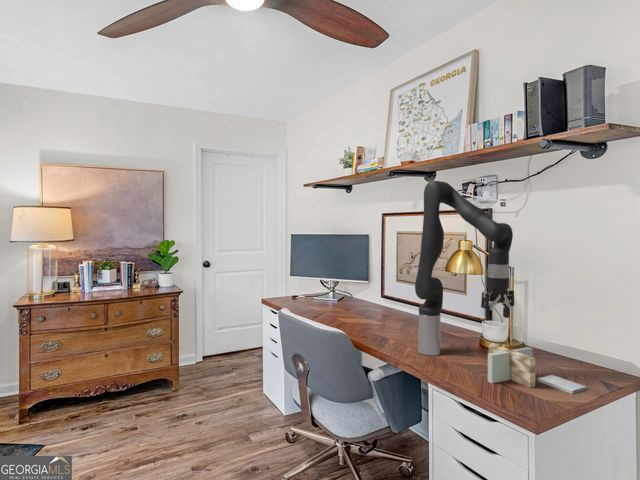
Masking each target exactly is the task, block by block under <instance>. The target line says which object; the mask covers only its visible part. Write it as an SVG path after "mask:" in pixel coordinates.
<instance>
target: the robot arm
mask: <svg viewBox="0 0 640 480" xmlns="http://www.w3.org/2000/svg"><path fill="white" fill-rule="evenodd" d="M441 204H445V205H446V206H449V207H450V208H453V210H455V211H456V212H457V213H458V215H459V216H460V217H461V219H463V221H465V222H466V223H468V224H469V225H471V227H474V228H475V229H476V230H478V231H479V233H480V234H481V235H483V237H484V238H485V239H487V240H489V241H491V242H492V243H493V246H492V247H491V248H490V249H489V251H488V263H487V264H488V265H487V280H486V281H487V283H486V284H487V288H488V292H486V291H482V292H481V300H480V301H481V302H480V303H481V304H480V307H481V308H482V309H485V319H486V320H487V321H493V308H495V306H497V304H502V306H503V308H502V311H503V312H502V317H503V318H505V319H509V318H510V315H511V313H510V312H511V308H512V307H514V306H515V291H514V290H513V289H511V290H510V254H509V253H510V250H511V246H512V242H513V236H514V235H513V229H512V227H511V225H509V224H508V223H505V222H497V221H495V220H493V219H492V217H491V215H490V214H489V213H488V212H486V211H484V210H483V209H481V208H480V207H478V206H477V205H475V204H473V202H471V201H469V200H468V199H466V198H465V197H464V196H463V195H461V194H460V193H459V191H457V190H456V188H454V187H453V186H452V185H451V184H449V183H448V182H445V181H441V180H431V181H429V182H428V183H427V184H426V185H425V187H424V190H423V217H422V218H423V220H422V221H423V223H422V233H421V241H420V252H419V253H420V255H419V263H418V268H417V274H416V278H415V282H414V283H415V284H414V291H415V292H414V293H415V295H416V296H417V298H418V299H420V300H425V301H424V302H423V304H422V305H420V306H419V307H418V331H417V353H418V354H421V355H425V356H433V357H434V356H439V355H441V311H442V309H443V301H444V300H443V299H444V285H443V283H442V281H441V279H440V278H438V277H433V270H434V267H435V266H436V263H437V261H438V259H439V258H440V256H441V254H442V252H443V249H444V240H445V232H444V228H443V225H442V221H441V219H440V208H441V207H440V206H441Z"/></svg>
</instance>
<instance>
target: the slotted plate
mask: <svg viewBox="0 0 640 480" xmlns="http://www.w3.org/2000/svg"><path fill="white" fill-rule="evenodd" d="M533 349H534V348H532V347H530V346H526V347H520V348H516V349H512V350H513V351H516V352H519V353H522V354H525V355H528V356H531V357H534V356H533V355H534V354H533ZM509 380H511V381H512V366H509V352H507V351H501V352H496V353H490V354H489V353H487V382H488V383H490V384H497V383H501V382H506V381H509Z"/></svg>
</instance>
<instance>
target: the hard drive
mask: <svg viewBox="0 0 640 480" xmlns="http://www.w3.org/2000/svg"><path fill="white" fill-rule="evenodd" d="M537 381H538V382H540V383H542V384H545V385H547V386H550V387H553V388H555V389H558V390H561V391H563V392H566V393H568V394H571V395H574V394H577V393H580V392H581V393H582V392H584V391H588V389H589V388H588V386H586V385H583V384H580V383H576V382H574V381H572V380H568V379H565V378H562V377H560V376H556V375H554V374H550V375H546V376H541V377H538V378H537Z"/></svg>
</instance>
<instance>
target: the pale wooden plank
mask: <svg viewBox="0 0 640 480" xmlns="http://www.w3.org/2000/svg"><path fill="white" fill-rule="evenodd" d="M501 351H507V352H509V366H512V379H511V381H512V382H515V383H517V384H520V385H523V386H525V387H527V388H532V389H533V388H534V387H535V388H536V357H534V356H533V357H531V356H528V355H525V354H522V353H519V352H516V351H513V349H509V348H507V347H504V346H500V345H497V344H496V343H493V344H489V345H488V354H490V353H496V352H501Z"/></svg>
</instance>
